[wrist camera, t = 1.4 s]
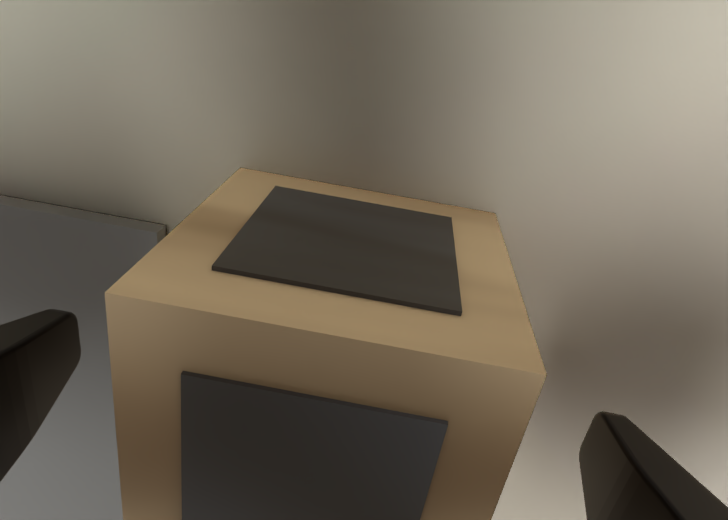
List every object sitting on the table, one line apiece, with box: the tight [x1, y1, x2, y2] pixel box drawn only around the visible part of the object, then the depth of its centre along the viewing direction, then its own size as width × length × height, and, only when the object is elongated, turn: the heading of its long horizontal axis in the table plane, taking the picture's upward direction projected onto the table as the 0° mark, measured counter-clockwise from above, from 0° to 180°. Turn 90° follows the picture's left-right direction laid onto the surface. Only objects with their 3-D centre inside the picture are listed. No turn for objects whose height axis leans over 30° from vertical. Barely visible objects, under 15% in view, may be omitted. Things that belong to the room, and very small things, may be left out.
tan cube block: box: [105, 168, 547, 520], centre depth 9 cm, size 5×5×5 cm
